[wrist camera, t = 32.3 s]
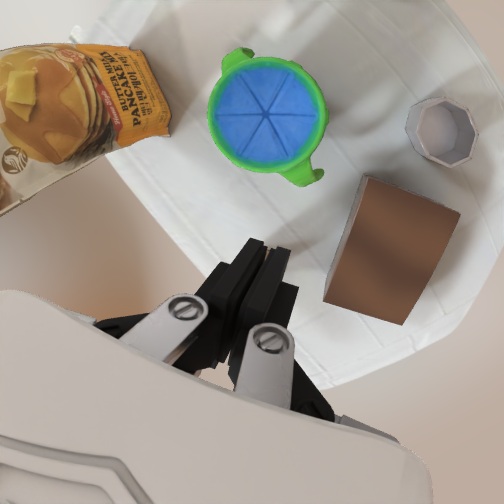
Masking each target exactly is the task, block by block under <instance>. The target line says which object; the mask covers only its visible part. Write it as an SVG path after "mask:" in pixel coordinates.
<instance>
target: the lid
mask: <svg viewBox="0 0 504 504" xmlns="http://www.w3.org/2000/svg"><path fill="white" fill-rule="evenodd" d="M460 215H461V214H460V213H459V212H457V211H455V210H452V209H450V208H448V207H446V206H443V205H441V204H439V203H436V202H434V201H432V200H429V199H427V198H425V197H422V196H420V195H417V194H415V193H412V192H410V191H407V190H404V189H402V188H399V187H397V186H394V185H391V184H389V183H386V182H383V181H380V180H378V179H375V178H372V177H369V176H368V178H367V181H366V184H365V187H364V190H363V193H362V196H361V199H360V202H359V205H358V208H357V211H356V214H355V217H354V220H353V223H352V225H351V228H350V231H349V234H348V236H347V239H346V242H345V245H344V247H343V250H342V253H341V255H340V258H339V260H338V263H337V265H336V268H335V271H334V273H333V276H332V278H331V281H330V283H329V285H328V288H327V290H326V293H325V295H324V298H323V302H326V303H329V304H333V305H336V306H339V307H342V308H345V309H349V310H352V311H355V312H358V313H362V314H365V315H368V316H371V317H375V318H378V319H381V320H385V321H388V322H391V323H395V324H398V325H401V326H402V325H403V323H404V322H405V320H406V318H407V317H408V315H409V314H410V312H411V310H412V309H413V307H414V305H415V304H416V302H417V300H418V299H419V297H420V295H421V294H422V292H423V290H424V288H425V286H426V285H427V283H428V281H429V279H430V277H431V276H432V274H433V272H434V270H435V268H436V266H437V264H438V262H439V260H440V258H441V256H442V254H443V252H444V250H445V248H446V246H447V244H448V242H449V240H450V238H451V235H452V233H453V231H454V229H455V227H456V224H457V222H458V220H459V217H460Z"/></svg>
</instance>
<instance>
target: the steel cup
mask: <svg viewBox="0 0 504 504" xmlns="http://www.w3.org/2000/svg"><path fill="white" fill-rule="evenodd" d="M405 130H406V132H407V134H408V136H409V138H410V141H411V143H412V145H413V147H414V149H415V151H416V152H418V153H420V154H421V155H423V156H425V157H426V158H428V159H431V160H433V161H435V162H437V163H439V164H441V165H444V166H446V167H448V168H450V169H451V168H453V167H455V166H458V165H460V164H462V163H464V162H466V161H468V160H470V159H472V155H473V152H474V149H475V146H476V142H477V139H478V135H479V134H478V131H477V129H476V126H475V124H474V121H473V119H472V116H471V114H470V112H469V110H468V108H466V107H464V106H462V105H460V104H458V103H457V102H455V101H453V100H451V99H449V98H447V97H436V98H430V99H427V100H425V101H423V102H421V103H418V104H416V105H414V106H412V107H411V108H410V112H409V116H408V120H407V123H406V127H405Z"/></svg>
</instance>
